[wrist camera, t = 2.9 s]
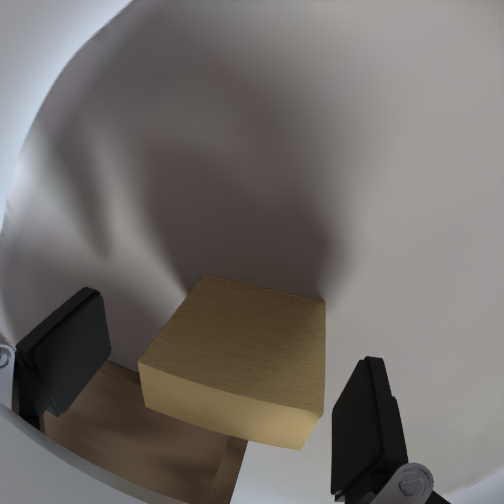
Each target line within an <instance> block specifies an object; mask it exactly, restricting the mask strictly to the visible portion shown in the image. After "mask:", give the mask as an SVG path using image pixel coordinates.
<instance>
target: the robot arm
mask: <svg viewBox="0 0 504 504" xmlns="http://www.w3.org/2000/svg"><path fill="white" fill-rule="evenodd" d="M16 349H17V351H16V352H15V353H14V351H13V349H12V348H11V347H10V346H8V345H3V344H0V504H189V503H186V502H182V501H179V500H176V499H173V498H170V497H167V496H164V495H162V494H159V493H156V492H154V491H151V490H148V489H146V488H143V487H141V486H139V485H136V484H134V483H132V482H129V481H127V480H125V479H123V478H120V477H118V476H116V475H114V474H112V473H110V472H108V471H106V470H104V469H102V468H100V467H98V466H96V465H94V464H92V463H90V462H89V461H87V460H85V459H83V458H81V457H80V456H78V455H76V454H75V453H73V452H71V451H69V450H68V449H66V448H65V447H63V446H61V445H60V444H58V443H57V442H55V441H54V440H52V439H51V438H49V437H48V436H46V435H45V425H44V412H45V411H46V410H47V411H48V412H49V413H51V414H52V415H54V416H55V417H57V418H58V417H59V416H60V414H61V413H65V412H66V411H67V410H68V408H69V407H70V406H71V404H72V403H73V402H74V401H75V399H76V398H77V397H78V395H79V394H80V393H81V391H82V390H83V389H84V388H85V386H86V385H87V384H88V382H89V381H90V380H91V379H92V377H93V376H94V375H95V373H96V372H97V371H98V370H99V368H100V367H101V366H102V365H103V363H104V362H105V361H106V360H107V358H108V357H109V356H110V353H111V345H110V340H109V334H108V329H107V323H106V316H105V309H104V302H103V297H102V296H101V295H100V292H99V291H97V290H94V289H92V288H89V287H84V288H82V289H81V290H80V291H78V292H77V293H76V294H75V295H73V296H72V297H71V298H70V299H69V300H67V301H66V302H65V303H64V304H63V305H61V306H60V307H59V308H58V309H57V310H55V311H54V312H53V313H52V314H51V315H49V316H48V317H47V318H46V319H45V320H44V321H42V322H41V323H40V324H39V325H38V326H37V327H36V328H34V329H33V330H32V331H31V332H30V333H29V334H28V335H27V336H25V337H24V338H23V339H22V340H21V341H20V342H19V343H18V344H17V345H16ZM433 487H434V479H433V476H432V474H431V472H430V470H429V469H427V468H426V467H425V466H424V465H421V464H419V463H409V462H408V456H407V450H406V444H405V439H404V433H403V428H402V423H401V418H400V413H399V408H398V404H397V400H396V398H395V397H394V396H392V394H391V390H390V385H389V381H388V377H387V373H386V368H385V364H384V361H383V359H382V358H377V357H370V356H366V357H365V358H364V360H359V362H358V363H357V365H356V367H355V369H354V371H353V373H352V375H351V377H350V379H349V381H348V382H347V384H346V386H345V388H344V390H343V392H342V393H341V395H340V397H339V399H338V400H337V402H336V404H335V406H334V408H333V411H332V466H331V494H332V495H335V502H345V504H450V503H449V502H448V501H447V500H445V499H444V498H443V497H441V496H440V495H438V494H437V493H436V492H434V491H433Z"/></svg>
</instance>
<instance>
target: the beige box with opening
mask: <svg viewBox="0 0 504 504" xmlns="http://www.w3.org/2000/svg"><path fill="white" fill-rule="evenodd" d="M44 425H45V435H46V436H48V437H49V438H51V439H52V440H54V441H55V442H57V443H58V444H60V445H61V446H63V447H65V448H66V449H68V450H69V451H71V452H73V453H75V454H76V455H78V456H80V457H81V458H83V459H85V460H87V461H89V462H90V463H92V464H94V465H96V466H98V467H100V468H102V469H104V470H106V471H108V472H110V473H112V474H114V475H116V476H118V477H120V478H123V479H125V480H127V481H129V482H132V483H134V484H136V485H139V486H141V487H143V488H146V489H148V490H151V491H154V492H156V493H159V494H162V495H164V496H167V497H170V498H173V499H176V500H179V501H182V502H186V503H189V504H230V501H231V497H232V494H233V491H234V488H235V484H236V481H237V478H238V474H239V471H240V468H241V464H242V461H243V457H244V454H245V450H246V447H247V443H248V440H246V439H242V438H238V437H234V436H230V435H227V434H223V433H219V432H216V431H213V430H209V429H206V428H203V427H200V426H197V425H193V424H190V423H187V422H185V421H182V420H179V419H176V418H173V417H171V416H168V415H165V414H163V413H160V412H157V411H155V410H152V409H150V408H148V407H145V402H144V396H143V391H142V386H141V380H140V374H138V373H136V372H133V371H131V370H128V369H126V368H124V367H121V366H119V365H117V364H115V363H112V362H110V361H108V360H106V361H105V362H104V363H103V365H102V366H101V367H100V368H99V370H98V371H97V372H96V373H95V375H94V376H93V377H92V379H91V380H90V381H89V382H88V384H87V385H86V386H85V388H84V389H83V390H82V391H81V393H80V394H79V395H78V397H77V398H76V399H75V401H74V402H73V403H72V404H71V406H70V407H69V408H68V410H67V411H66V412H65V413H61V414H60V416H59V417H58V418H57V417H55V416H54V415H52V414H51V413H49V412H48V411H47V410H46V411H45V412H44Z"/></svg>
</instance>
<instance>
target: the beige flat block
mask: <svg viewBox="0 0 504 504" xmlns="http://www.w3.org/2000/svg"><path fill="white" fill-rule="evenodd" d="M325 342H326V322H325V302H324V301H320V300H315V299H310V298H306V297H301V296H297V295H293V294H288V293H284V292H279V291H275V290H271V289H266V288H262V287H258V286H254V285H249V284H245V283H241V282H237V281H233V280H229V279H225V278H221V277H217V276H212V275H208V274H204V275H203V277H202V278H201V279H200V280H199V282H198V283H197V284H196V286H195V287H194V288H193V289H192V291H191V292H190V293H189V295H188V296H187V297H186V298H185V300H184V301H183V302H182V304H181V305H180V306H179V308H178V309H177V310H176V311H175V313H174V314H173V315H172V317H171V318H170V319H169V321H168V322H167V323H166V325H165V326H164V327H163V329H162V330H161V331H160V332H159V334H158V335H157V336H156V338H155V339H154V340H153V342H152V343H151V344H150V346H149V347H148V348H147V350H146V351H145V352H144V354H143V355H142V356H141V358H140V359H139V360H138V368H139V374H140V380H141V386H142V391H143V396H144V402H145V407H148V408H150V409H152V410H155V411H157V412H160V413H163V414H165V415H168V416H171V417H173V418H176V419H179V420H182V421H185V422H187V423H190V424H193V425H197V426H200V427H203V428H206V429H209V430H213V431H216V432H219V433H223V434H227V435H230V436H234V437H238V438H242V439H246V440H250V441H254V442H259V443H263V444H268V445H273V446H278V447H283V448H289V449H295V450H301V448H302V447H303V445H304V444H305V442H306V440H307V439H308V437H309V436H310V434H311V433H312V431H313V429H314V428H315V426H316V424H317V423H318V421H319V419H320V418H321V416H322V414H323V410H324V388H325Z"/></svg>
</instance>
